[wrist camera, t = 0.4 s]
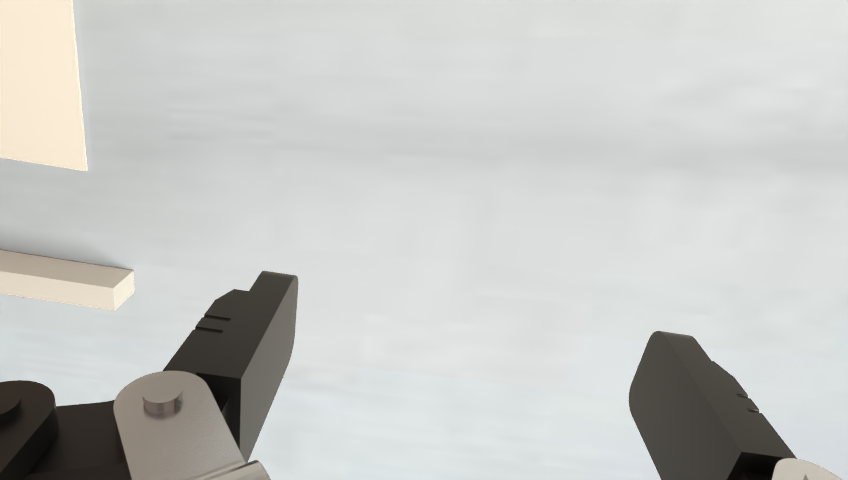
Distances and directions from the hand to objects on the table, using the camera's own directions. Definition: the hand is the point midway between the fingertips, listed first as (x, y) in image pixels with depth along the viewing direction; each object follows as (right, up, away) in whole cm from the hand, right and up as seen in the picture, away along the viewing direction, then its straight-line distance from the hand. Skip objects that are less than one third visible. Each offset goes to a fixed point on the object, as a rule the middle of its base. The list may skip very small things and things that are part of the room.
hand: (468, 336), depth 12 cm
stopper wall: (-35, 0, +32) cm, 47 cm away
